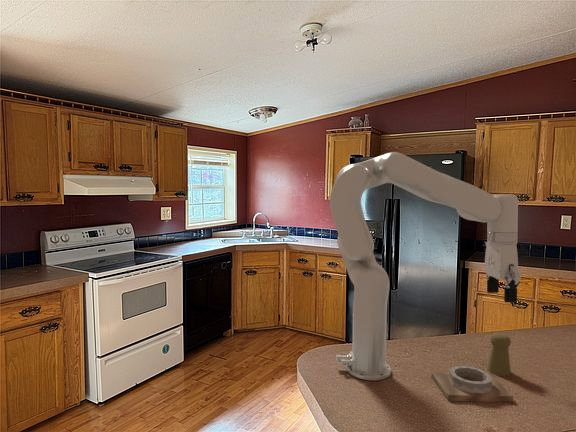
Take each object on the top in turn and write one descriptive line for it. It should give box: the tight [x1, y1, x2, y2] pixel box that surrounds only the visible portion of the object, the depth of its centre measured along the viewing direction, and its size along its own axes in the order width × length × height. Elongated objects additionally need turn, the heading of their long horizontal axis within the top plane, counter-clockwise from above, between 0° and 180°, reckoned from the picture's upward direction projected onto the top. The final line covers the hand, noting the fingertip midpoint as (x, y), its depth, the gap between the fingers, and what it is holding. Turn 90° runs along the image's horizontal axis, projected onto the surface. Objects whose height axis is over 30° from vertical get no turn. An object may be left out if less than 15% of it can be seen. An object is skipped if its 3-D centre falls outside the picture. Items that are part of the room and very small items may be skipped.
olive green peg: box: [487, 332, 512, 377], centre depth 113 cm, size 6×6×11 cm
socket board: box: [431, 365, 514, 403], centre depth 103 cm, size 16×12×4 cm
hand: (501, 297), depth 112 cm, fingers open, 9 cm apart
